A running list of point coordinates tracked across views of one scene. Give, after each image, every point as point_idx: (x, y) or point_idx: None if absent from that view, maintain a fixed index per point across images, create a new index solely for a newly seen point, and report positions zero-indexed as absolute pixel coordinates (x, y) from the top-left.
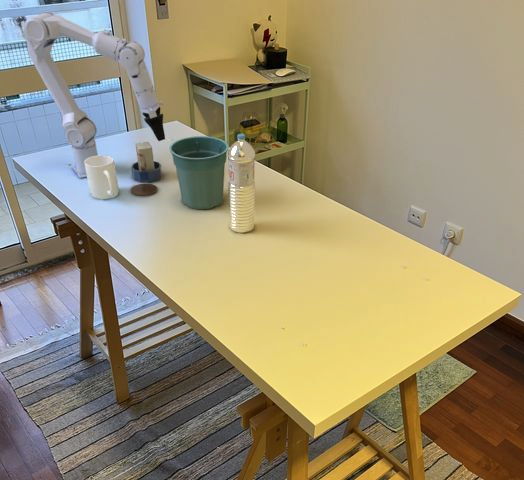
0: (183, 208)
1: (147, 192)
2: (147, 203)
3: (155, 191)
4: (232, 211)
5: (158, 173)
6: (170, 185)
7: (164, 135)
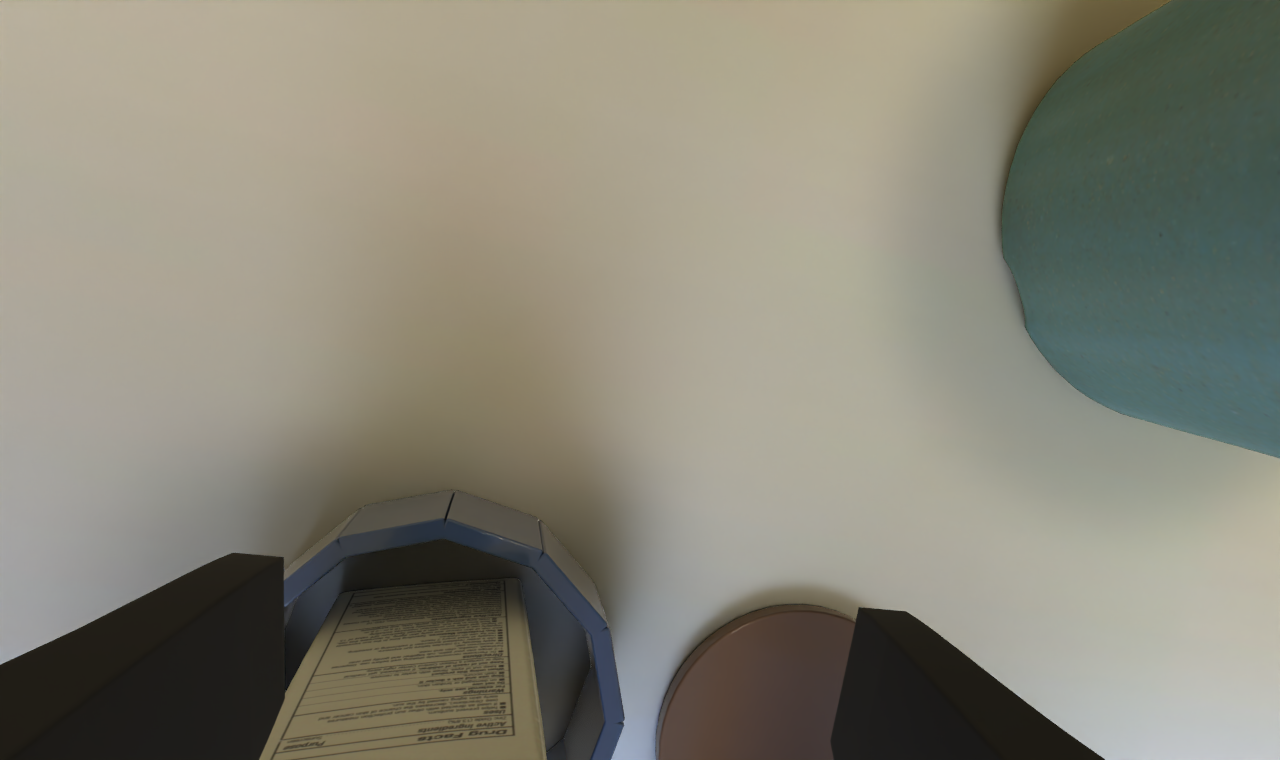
0: None
1: None
2: None
3: None
4: None
5: (568, 565)
6: (744, 453)
7: (951, 649)
